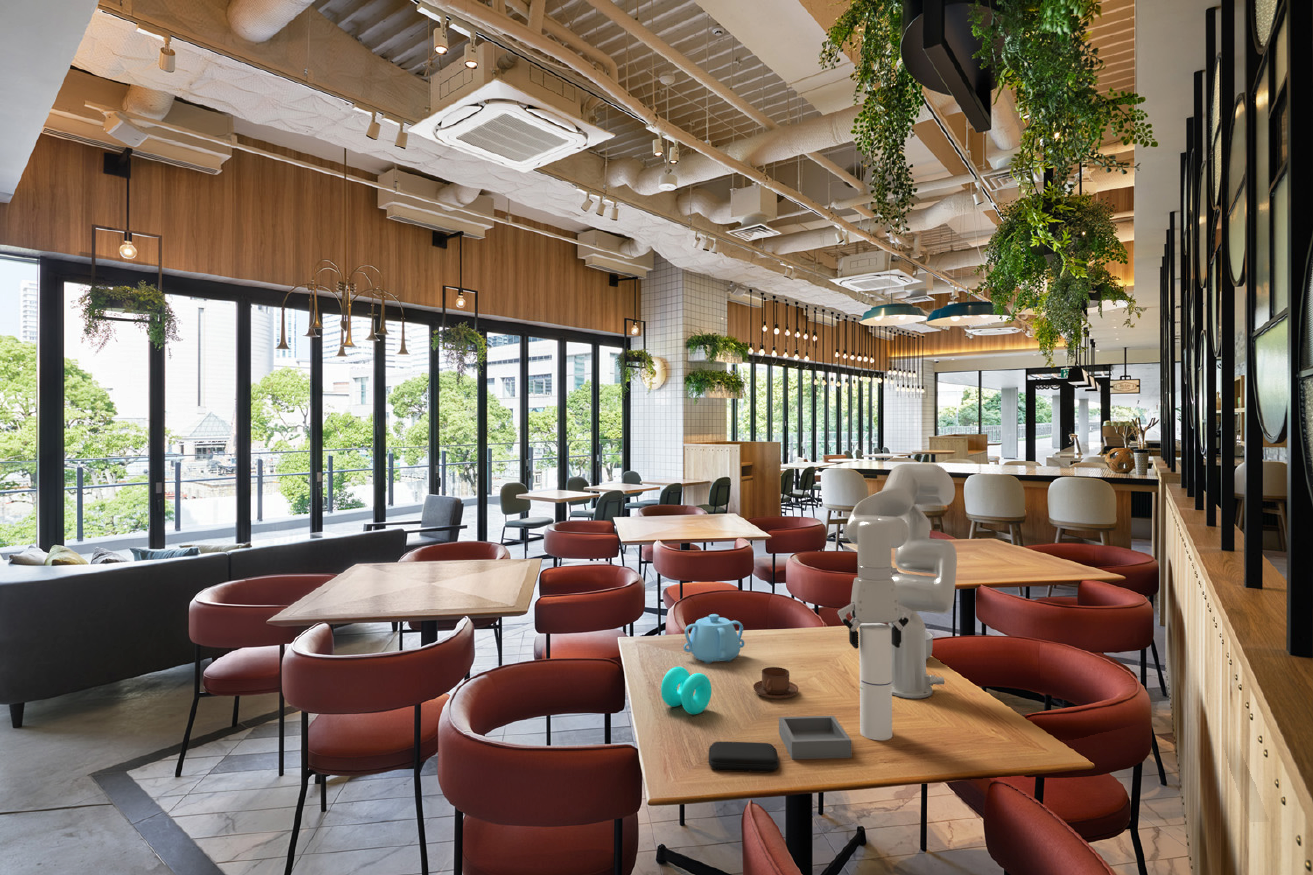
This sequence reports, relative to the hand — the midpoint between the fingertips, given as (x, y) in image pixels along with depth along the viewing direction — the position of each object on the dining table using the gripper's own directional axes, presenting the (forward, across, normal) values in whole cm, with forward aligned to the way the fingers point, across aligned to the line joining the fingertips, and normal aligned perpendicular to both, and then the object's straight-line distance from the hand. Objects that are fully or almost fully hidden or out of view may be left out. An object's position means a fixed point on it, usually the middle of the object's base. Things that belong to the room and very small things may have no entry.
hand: (875, 646), depth 160 cm
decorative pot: (+21, +31, -57) cm, 68 cm away
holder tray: (+20, +16, +5) cm, 26 cm away
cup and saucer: (+21, +18, -26) cm, 38 cm away
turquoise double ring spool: (+21, +43, -17) cm, 51 cm away
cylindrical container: (+20, 0, 0) cm, 20 cm away
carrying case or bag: (+21, +33, +11) cm, 41 cm away
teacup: (+21, -30, -53) cm, 64 cm away
